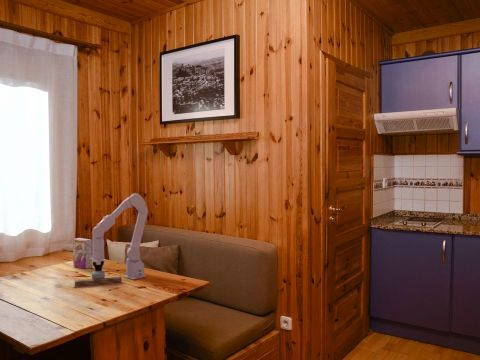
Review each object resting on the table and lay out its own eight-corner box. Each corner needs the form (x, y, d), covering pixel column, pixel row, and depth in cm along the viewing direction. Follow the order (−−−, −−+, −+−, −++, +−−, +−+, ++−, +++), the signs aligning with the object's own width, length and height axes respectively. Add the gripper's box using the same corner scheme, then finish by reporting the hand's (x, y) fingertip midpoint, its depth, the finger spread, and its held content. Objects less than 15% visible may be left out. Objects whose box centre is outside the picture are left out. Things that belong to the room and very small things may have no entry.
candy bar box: (72, 266, 247) (72, 238, 246) (80, 265, 251) (79, 237, 251) (85, 269, 241) (85, 240, 240) (92, 267, 245) (92, 239, 245)
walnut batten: (121, 281, 216) (121, 276, 216) (121, 283, 213) (121, 278, 213) (75, 285, 209) (74, 280, 209) (74, 287, 206) (74, 281, 206)
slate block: (104, 280, 219) (104, 270, 219) (104, 283, 213) (104, 273, 213) (92, 281, 217) (92, 271, 217) (92, 284, 211) (91, 274, 211)
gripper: (90, 247, 225) (90, 272, 226) (89, 252, 212) (90, 279, 212) (104, 246, 228) (104, 271, 228) (104, 251, 214) (105, 278, 214)
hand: (98, 275), depth 220 cm, fingers closed
